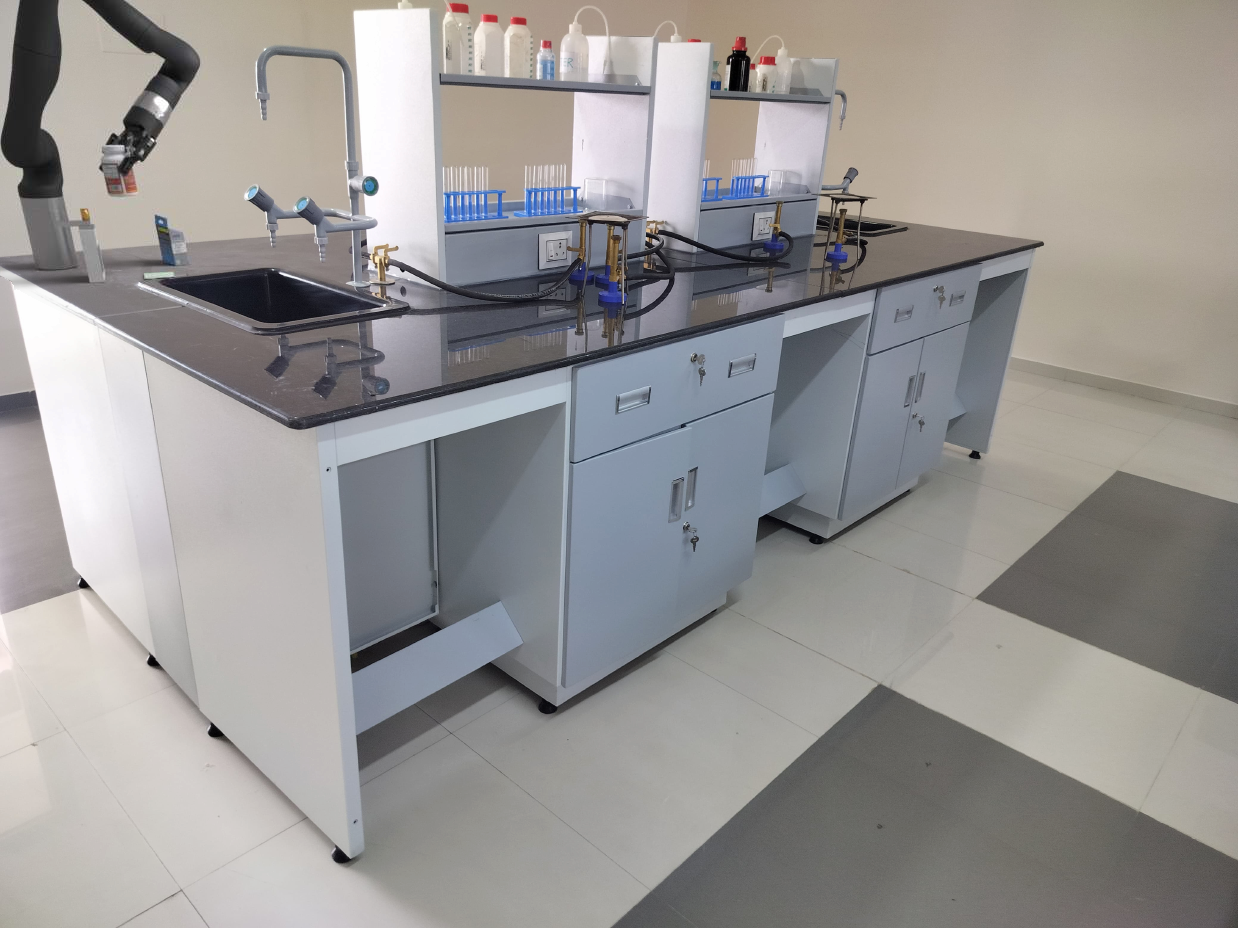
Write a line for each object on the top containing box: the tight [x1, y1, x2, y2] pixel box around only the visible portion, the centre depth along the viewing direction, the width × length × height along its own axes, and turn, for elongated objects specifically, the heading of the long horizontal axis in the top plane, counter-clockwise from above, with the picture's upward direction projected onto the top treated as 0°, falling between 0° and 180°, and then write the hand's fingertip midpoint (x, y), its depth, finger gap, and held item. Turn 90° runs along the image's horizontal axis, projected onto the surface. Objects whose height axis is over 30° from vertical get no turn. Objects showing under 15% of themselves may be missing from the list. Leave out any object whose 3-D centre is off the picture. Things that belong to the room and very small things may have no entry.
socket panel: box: [77, 223, 106, 284], centre depth 205 cm, size 9×3×13 cm, turn 27°
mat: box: [143, 271, 175, 280], centre depth 212 cm, size 6×6×1 cm
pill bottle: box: [100, 144, 138, 198], centre depth 200 cm, size 6×6×11 cm
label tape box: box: [154, 214, 190, 267], centre depth 226 cm, size 9×4×12 cm, turn 46°
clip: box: [55, 208, 92, 228], centre depth 199 cm, size 2×7×4 cm, turn 117°
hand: (112, 172), depth 199 cm, fingers closed on pill bottle, 6 cm apart
